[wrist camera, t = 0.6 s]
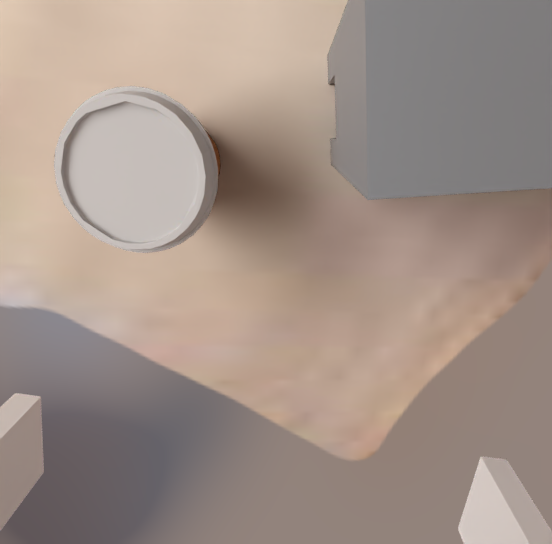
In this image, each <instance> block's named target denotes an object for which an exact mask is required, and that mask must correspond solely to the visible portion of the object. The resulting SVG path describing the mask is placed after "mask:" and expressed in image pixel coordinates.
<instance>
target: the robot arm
mask: <svg viewBox="0 0 552 544" xmlns="http://www.w3.org/2000/svg"><path fill="white" fill-rule="evenodd" d="M43 472H44V468H43V441H42V415H41V397H40V396H32V395H25V394H18V393H15V394H14V395H13V396H12V397H11V398H10V399H9V400H8V401H6V402H5V403H4V404H3V405H2V406H1V407H0V531H1V529H2V528H3V527H4V525H5V524H6V522H7V521H8V520H9V518H10V517H11V516H12V514H13V513H14V512H15V510H16V509H17V508H18V506H19V505H20V503H21V502H22V501H23V499H24V498H25V496H26V495H27V494H28V492H29V491H30V490H31V489H32V487H33V486H34V485H35V483H36V482H37V480H38V479H39V478H40V476H41V475H42V474H43ZM458 530H459V532H460V535H461V537H462V540H463V543H464V544H552V531H551V529H550V528H549V526H548V525H547V523H546V521H545V520H544V518H543V517H542V515H541V513H540V512H539V510H538V509H537V507H536V506H535V504H534V502H533V501H532V499H531V498H530V496H529V494H528V493H527V491H526V490H525V488H524V486H523V485H522V483H521V482H520V480H519V479H518V477H517V475H516V474H515V472H514V471H513V469H512V467H511V466H510V464H509V463H508V461H507V460H505V459H497V458H490V457H483V456H481V458H480V461H479V464H478V467H477V470H476V473H475V476H474V480H473V483H472V486H471V489H470V492H469V495H468V498H467V502H466V505H465V508H464V511H463V514H462V517H461V520H460V524H459V527H458Z"/></svg>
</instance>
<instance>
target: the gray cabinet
mask: <svg viewBox="0 0 552 544" xmlns="http://www.w3.org/2000/svg"><path fill="white" fill-rule="evenodd" d="M328 84H335V108H336V138H334V139H330V142H331V165H332V166H333V167H334V168H335V169H336V170H337V171H338V172H339V173H340V174H341V175H342V176H343V177H344V178H346V179H347V180H348V181H349V182H350V183H351V184H352V185H353V186H354V187H355V188H356V189H357V190H358V191H359V192H360V193H361V194H362V195H363V196H364V197H365V198H366V199H367V200H374V199H389V198H405V197H421V196H437V195H452V194H468V193H484V192H500V191H515V190H531V189H547V188H552V0H348V2H347V5H346V7H345V10H344V13H343V15H342V18H341V21H340V23H339V26H338V29H337V31H336V34H335V37H334V39H333V42H332V45H331V47H330V50H329V53H328Z"/></svg>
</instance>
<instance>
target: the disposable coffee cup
mask: <svg viewBox="0 0 552 544" xmlns="http://www.w3.org/2000/svg"><path fill="white" fill-rule="evenodd" d="M220 166H221V165H220V155H219V152H218V149H217V146H216V144H215V142H214V141H213V139H212V138H211V137H210V135H209V134H208V133H207V132H206V131H205V130H204V128H203V126H202V125H201V124H200V122H199V121H198V120H197V119H196V117H195V116H194V115H193V114H192V113H191V112H190V111H189V110H187V109H186V108H185V107H184V106H183V105H182V104H180V103H179V102H177V101H176V100H174V99H172V98H171V97H169V96H167V95H166V94H163V93H160V92H158V91H155V90H152V89H149V88H143V87H135V86H127V87H116V88H112V89H108V90H105V91H103V92H101V93H99V94H96V95H94V96H92V97H91V98H89V99H88V100H86V101H85V102H84V103H83V104H81V105H80V106H79V107H78V108H77V109H76V110H75V112H74V113H73V114H72V116H71V117H70V119H69V120H68V121H67V123H66V125H65V127H64V128H63V130H62V131H61V134H60V137H59V140H58V143H57V147H56V150H55V161H54V169H55V177H56V183H57V187H58V190H59V193H60V196H61V198H62V200H63V202H64V204H65V206H66V208H67V209H68V211H69V212H70V214H71V215H72V217H73V218H74V219H75V220H76V221H77V222H78V223H79V224H80V225H81V226H82V228H83V229H85V230H86V231H87V232H88V233H90V234H91V235H92V236H94V237H96V238H97V239H99V240H101V241H102V242H105V243H107V244H110V245H112V246H114V247H117V248H120V249H123V250H126V251H132V252H141V253H148V252H158V251H162V250H166V249H170V248H172V247H174V246H177V245H179V244H181V243H182V242H184V241H185V240H187V239H188V238H189V237H191V236H192V235H194V233H195V232H196V231H197V230H198V229H199V228H200V227H201V226H202V225H203V223H204V222H205V220H206V219H207V217H208V216H209V214H210V212H211V209H212V207H213V205H214V201H215V198H216V194H217V190H218V176H219V173H220Z"/></svg>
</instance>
